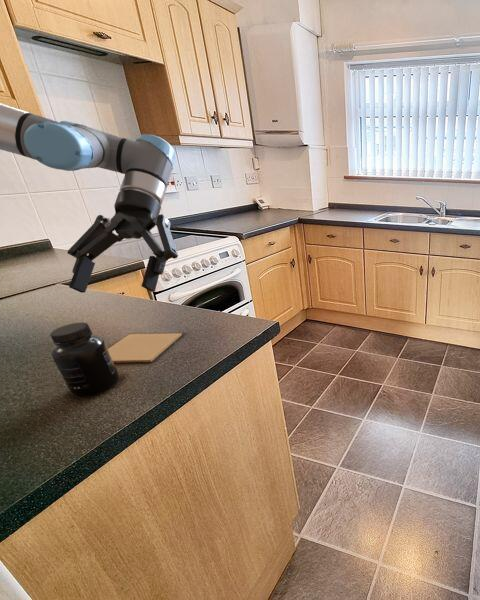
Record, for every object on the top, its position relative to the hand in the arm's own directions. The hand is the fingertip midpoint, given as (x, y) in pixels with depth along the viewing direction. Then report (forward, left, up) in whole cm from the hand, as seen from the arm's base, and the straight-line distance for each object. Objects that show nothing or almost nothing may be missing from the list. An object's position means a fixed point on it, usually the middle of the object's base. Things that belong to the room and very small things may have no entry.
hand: (112, 289), depth 65 cm
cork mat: (-1, +2, -15) cm, 15 cm away
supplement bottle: (0, -11, -15) cm, 18 cm away
